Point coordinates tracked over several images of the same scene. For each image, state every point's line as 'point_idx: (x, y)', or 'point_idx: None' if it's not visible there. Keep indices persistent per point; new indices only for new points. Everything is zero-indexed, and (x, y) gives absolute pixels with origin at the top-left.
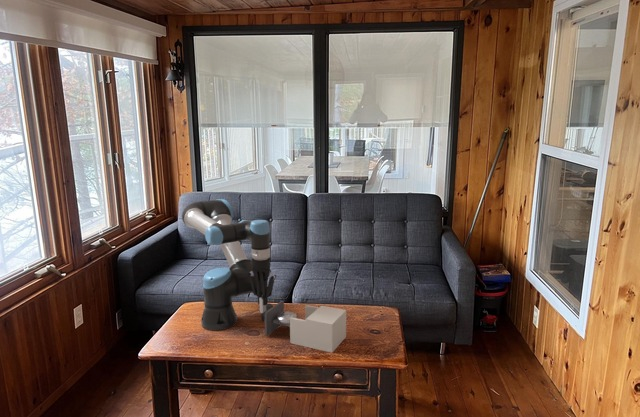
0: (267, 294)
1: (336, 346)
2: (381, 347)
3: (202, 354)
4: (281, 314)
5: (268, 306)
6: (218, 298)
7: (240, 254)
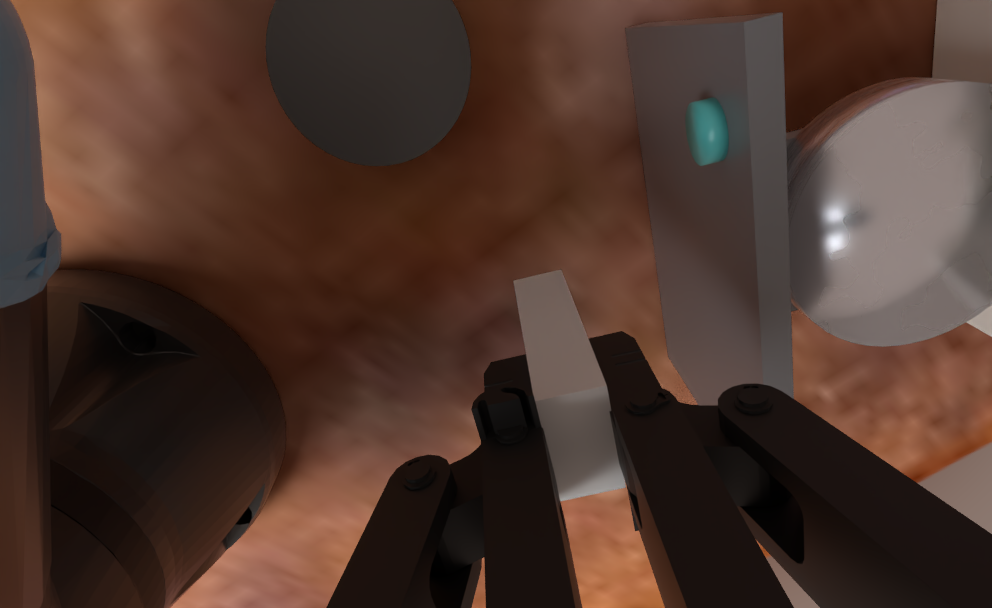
0: (785, 530)
1: None
2: None
3: None
4: (836, 243)
5: (399, 61)
6: None
7: None
